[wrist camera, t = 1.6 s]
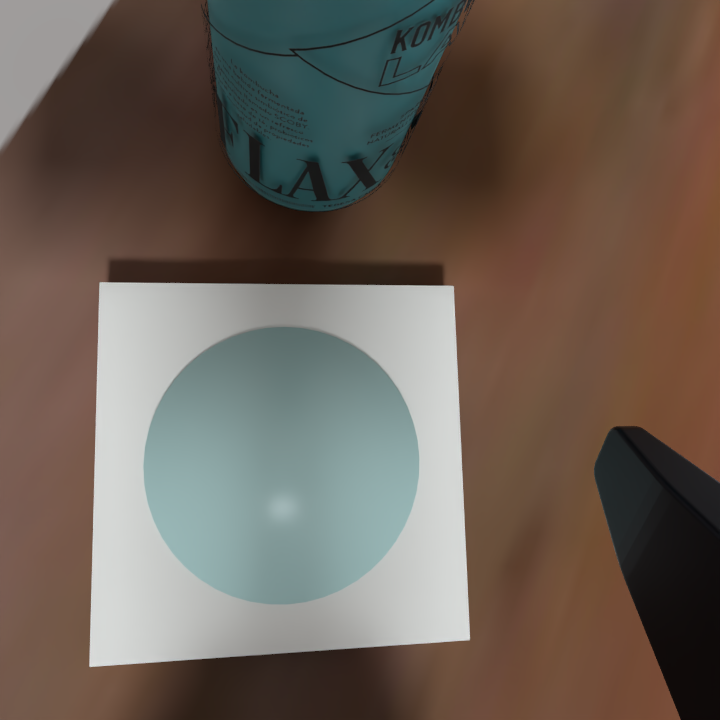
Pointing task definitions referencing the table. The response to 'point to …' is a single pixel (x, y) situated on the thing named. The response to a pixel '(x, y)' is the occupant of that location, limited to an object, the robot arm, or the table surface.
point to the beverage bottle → (322, 90)
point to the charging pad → (275, 471)
